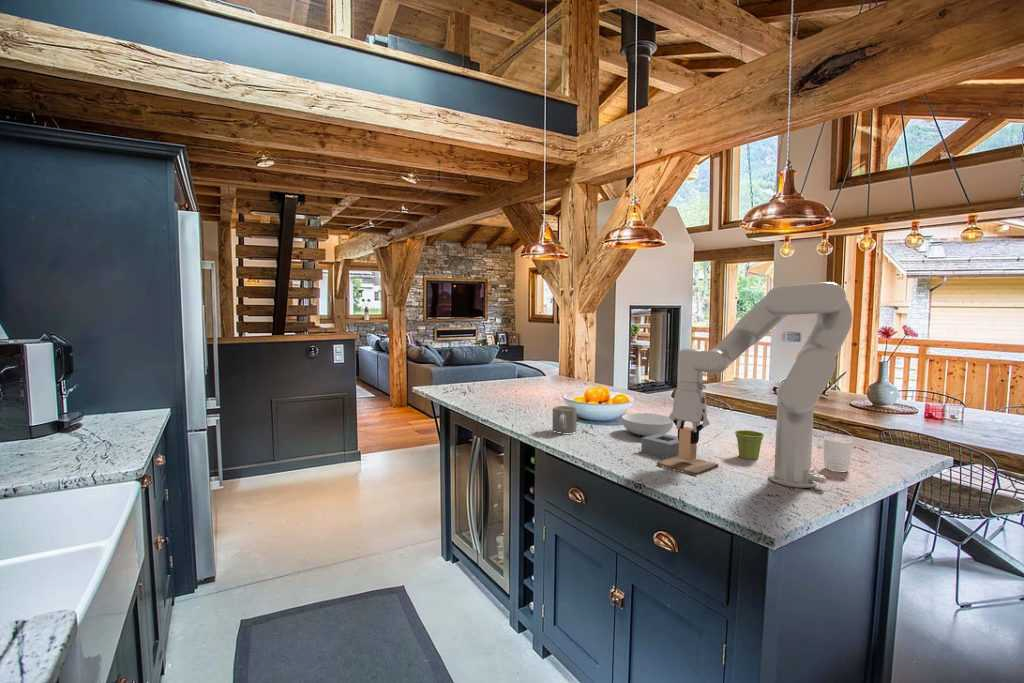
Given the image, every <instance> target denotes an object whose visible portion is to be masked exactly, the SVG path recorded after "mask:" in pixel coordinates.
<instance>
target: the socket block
mask: <svg viewBox="0 0 1024 683" xmlns="http://www.w3.org/2000/svg"><path fill="white" fill-rule="evenodd" d="M641 452H642V453H645V454H649V453H650V455H653V454H654V456H658V457H661V456H662V457H661V458H665V457H666V458H665V459H669V458H672V457H675V456H678V455H679V441H678V435H674V434H673V435H671V434H668V433H666V434H663V433H658V434H655V435H651V436H647V437H645V436H642V438H641Z"/></svg>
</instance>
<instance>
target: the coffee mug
mask: <svg viewBox="0 0 1024 683" xmlns="http://www.w3.org/2000/svg"><path fill="white" fill-rule="evenodd" d="M552 430H553V431H556V432H561V433H573V432H576V433H577V407H574V406H569V405H557V406H554V407H552ZM553 431H552V432H553Z"/></svg>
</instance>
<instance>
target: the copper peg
mask: <svg viewBox="0 0 1024 683" xmlns="http://www.w3.org/2000/svg"><path fill="white" fill-rule="evenodd" d="M692 432H693V427H689V426H684V427H683V428H680V432H679V459H683V460H687V461H692V460H694V459H697V444H698V443H696V444H692V443H691V436H692Z"/></svg>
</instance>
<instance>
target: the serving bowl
mask: <svg viewBox="0 0 1024 683" xmlns="http://www.w3.org/2000/svg"><path fill="white" fill-rule="evenodd" d="M621 422H622V425H623V427H624V428H625V429H626V430H627V431H628V432H630V433H632V434H635V435H637V436H640V435H641V436H640V437H645V436H651V435H655V434H658V433H663V434H668V433H669V432H670V431H671V430H672V429H673V426H674V422H673V421H672V420H671V419H670V418H669V416H667V415H664V414H663V415H662V414H658V413H647V412H631V413H626V414H623V415H622V416H621Z"/></svg>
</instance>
